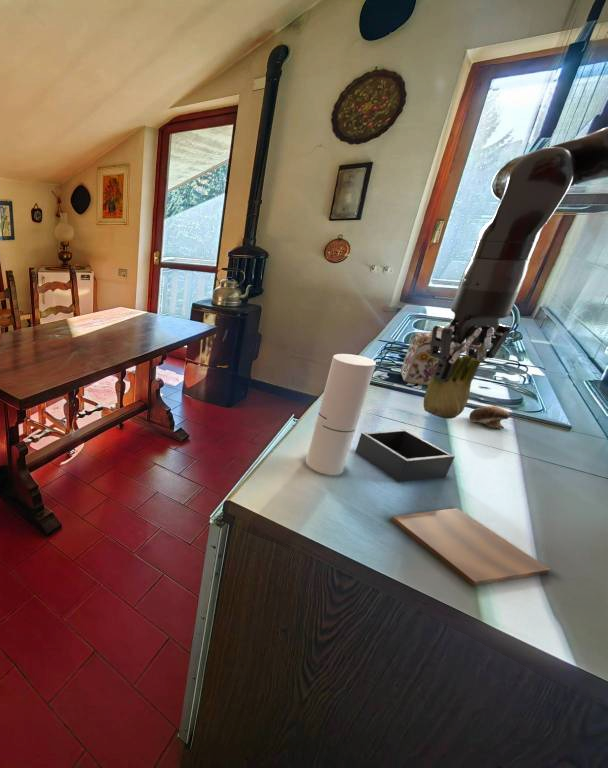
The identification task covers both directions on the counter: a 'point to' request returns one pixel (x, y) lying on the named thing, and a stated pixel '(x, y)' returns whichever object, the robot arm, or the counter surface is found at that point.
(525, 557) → the board
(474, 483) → the counter surface
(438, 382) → the fennel bulb
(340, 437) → the cylindrical container
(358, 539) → the counter surface
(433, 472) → the bin
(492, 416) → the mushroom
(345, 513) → the counter surface
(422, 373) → the decorative jar
